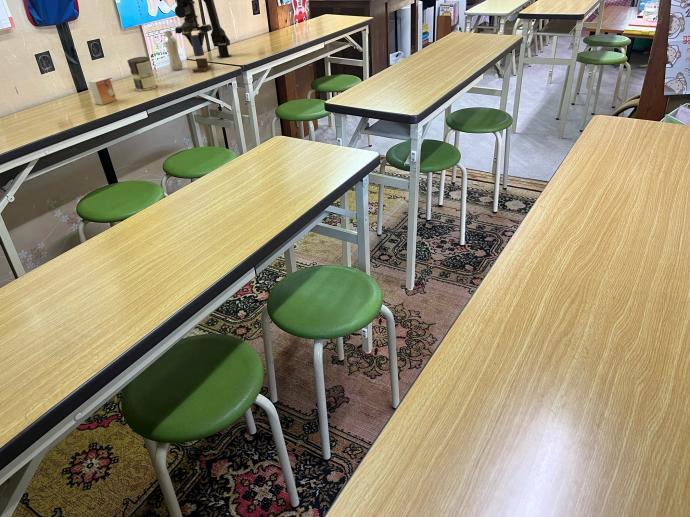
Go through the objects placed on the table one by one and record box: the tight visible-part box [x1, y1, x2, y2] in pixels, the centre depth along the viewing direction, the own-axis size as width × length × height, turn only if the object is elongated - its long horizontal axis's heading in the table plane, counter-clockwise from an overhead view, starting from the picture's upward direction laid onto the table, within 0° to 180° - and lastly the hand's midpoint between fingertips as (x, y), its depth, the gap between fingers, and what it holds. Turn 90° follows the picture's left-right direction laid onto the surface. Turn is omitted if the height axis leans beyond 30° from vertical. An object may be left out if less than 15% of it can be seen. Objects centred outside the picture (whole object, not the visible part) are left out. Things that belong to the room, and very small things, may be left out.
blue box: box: [190, 34, 205, 57], centre depth 278 cm, size 11×5×11 cm
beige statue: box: [164, 30, 183, 71], centre depth 285 cm, size 6×7×20 cm
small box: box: [88, 77, 117, 106], centre depth 242 cm, size 8×6×10 cm
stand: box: [192, 57, 212, 73], centre depth 283 cm, size 8×7×6 cm
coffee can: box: [126, 56, 157, 92], centre depth 258 cm, size 10×10×14 cm
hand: (197, 46), depth 278 cm, fingers closed on blue box, 5 cm apart
